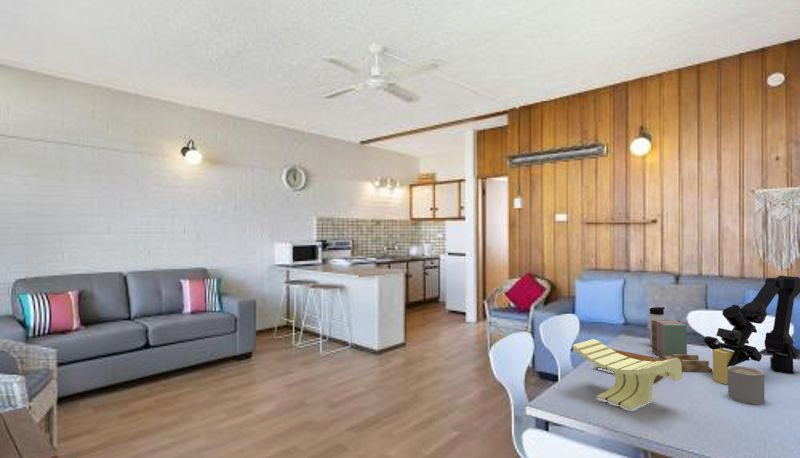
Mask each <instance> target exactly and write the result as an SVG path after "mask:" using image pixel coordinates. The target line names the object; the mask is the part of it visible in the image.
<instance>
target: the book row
mask: <svg viewBox="0 0 800 458" xmlns="http://www.w3.org/2000/svg"><path fill="white" fill-rule="evenodd" d="M687 335H688V334H687V325H686V324H685V323H684V324H683V323H682V322H681V321H680V322H678V321H656V341H657V350H658V351H659V352H661V353H662V354H664V355H665V356H672V354H684V355H687V354H688V343H687V342H688V340H687Z"/></svg>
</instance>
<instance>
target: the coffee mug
mask: <svg viewBox="0 0 800 458" xmlns="http://www.w3.org/2000/svg"><path fill="white" fill-rule="evenodd" d="M727 396H728V398H730V399H732V400H734V401H736V402H740V403H742V404H749V405H763V404H765V399H766V398H765V373H764V371H763V370H761V369H758V368H755V367H751V366H745V365H735V366H729V367H728V384H727Z"/></svg>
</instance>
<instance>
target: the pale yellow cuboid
mask: <svg viewBox="0 0 800 458" xmlns="http://www.w3.org/2000/svg"><path fill="white" fill-rule="evenodd" d="M733 355H734V351H733V350H729V349H725V348H723V349H715V350H713V349H712V379H713V381H715V382H718V383H721V384H724V385H727V386H728V367H727V365H728V363H729V361H730V360H731V358H732V356H733Z"/></svg>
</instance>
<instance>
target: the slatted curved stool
mask: <svg viewBox="0 0 800 458" xmlns="http://www.w3.org/2000/svg"><path fill="white" fill-rule="evenodd" d="M614 350H615V349H614ZM614 350H612V349H611V348H610V347H609V346H607V345H605V344H603V343H602V341H599V340H598V339H594V338H592V339H589V340H586V341H580V342H578V343H575V344H573V345H572V353H575V354H579V357H581V358H586V361H587V362H589V363H593V366H594V367H595V366H596V367H597V368H598V367H601V368H607V369H608V370H612V371H613V372H614V374H613V375H614V376H615V383H614V385H613V386H612V387H611V388H609V389H608V390H606V391H604V392H601V393H600V394H597V396H596V398H600V399H603V400H607V401H608V402H611V403H613V404H616V405H621V406H622V407H624V408H627V409H629V410H632V409H634V408H636V407H638V406H641V405H643V404H646V403H648V402H651V401H652V402H653V385H654V383H653V382H654V379H655V377H656V376H657V375H660V376H663V378H669V379H670V380H672V381H675V382H677V381H679V380H681V379H683V375H682V374H683V372H682V365H681V361H680V359H679V358H673V359H671V360H664V361H656V362H653V361H641V360H637V359H633V358H629V359H628V357H627V356H624V355H621V354H619V353H616V351H614Z"/></svg>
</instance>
